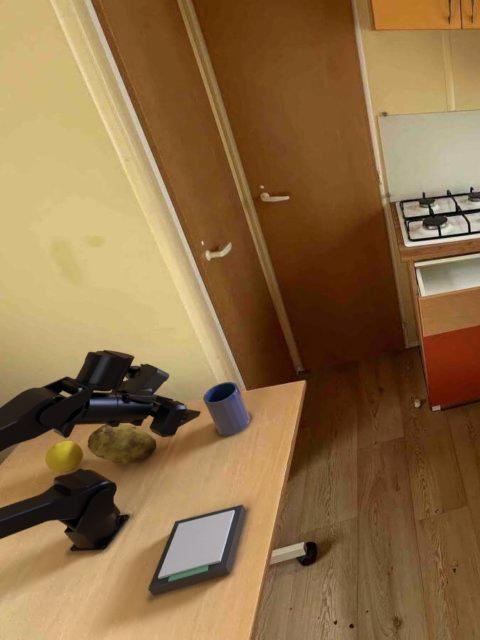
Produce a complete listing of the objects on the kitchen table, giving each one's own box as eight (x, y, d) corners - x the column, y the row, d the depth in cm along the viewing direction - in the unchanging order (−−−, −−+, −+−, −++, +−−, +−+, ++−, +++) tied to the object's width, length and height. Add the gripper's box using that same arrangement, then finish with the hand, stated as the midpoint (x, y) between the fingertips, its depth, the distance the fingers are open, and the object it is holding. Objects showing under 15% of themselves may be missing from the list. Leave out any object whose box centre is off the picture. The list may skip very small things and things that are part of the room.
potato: (125, 480, 93) (109, 456, 89) (91, 459, 98) (75, 436, 94) (165, 450, 100) (151, 426, 96) (132, 432, 104) (118, 409, 101)
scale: (230, 574, 77) (225, 565, 76) (153, 596, 74) (146, 587, 73) (246, 511, 87) (242, 502, 86) (179, 528, 84) (174, 519, 83)
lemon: (86, 453, 99) (70, 429, 95) (91, 466, 96) (75, 443, 92) (54, 469, 95) (36, 445, 92) (58, 484, 92) (39, 460, 88)
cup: (241, 435, 104) (227, 403, 99) (212, 436, 103) (196, 404, 98) (255, 412, 110) (242, 381, 105) (227, 413, 110) (214, 382, 105)
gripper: (158, 379, 79) (230, 383, 93) (99, 353, 85) (175, 361, 99) (128, 440, 76) (207, 435, 90) (69, 409, 82) (152, 409, 97)
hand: (185, 407), depth 94 cm, fingers open, 9 cm apart
